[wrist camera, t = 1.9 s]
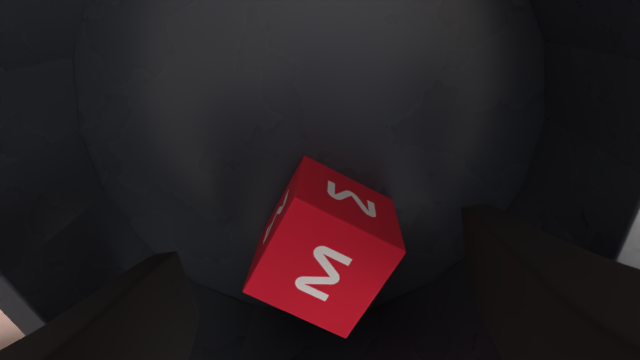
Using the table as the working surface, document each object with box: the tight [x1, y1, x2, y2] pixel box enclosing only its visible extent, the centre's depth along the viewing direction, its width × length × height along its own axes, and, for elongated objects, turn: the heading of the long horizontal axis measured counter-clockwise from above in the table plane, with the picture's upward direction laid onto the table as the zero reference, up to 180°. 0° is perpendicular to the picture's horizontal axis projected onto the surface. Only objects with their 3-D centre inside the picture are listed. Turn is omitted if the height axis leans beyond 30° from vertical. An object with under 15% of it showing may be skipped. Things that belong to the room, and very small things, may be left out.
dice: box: [242, 156, 406, 338], centre depth 12 cm, size 3×3×3 cm
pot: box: [0, 0, 640, 360], centre depth 11 cm, size 14×14×5 cm
